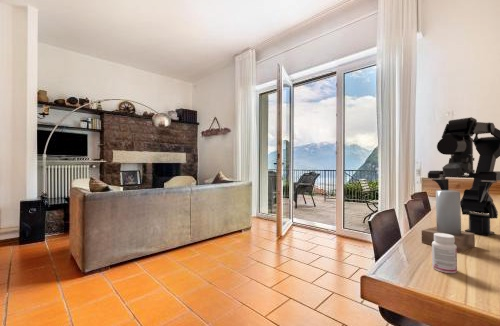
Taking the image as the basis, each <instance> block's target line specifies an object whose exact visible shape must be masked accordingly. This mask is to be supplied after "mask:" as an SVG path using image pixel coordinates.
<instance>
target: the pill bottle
mask: <svg viewBox="0 0 500 326" xmlns="http://www.w3.org/2000/svg"><path fill="white" fill-rule="evenodd" d="M434 240H435V241H433V242H432V245H431V264H432V265H431V266H432V268H433V269H435V270H436V271H439V272H441V273H446V274H456V273H457V272H458V254H457V253H458V252H457V246H456V245H455V244H454V243H455V238H454V236H453V235H450V234H445V233H434Z"/></svg>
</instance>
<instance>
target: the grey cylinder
mask: <svg viewBox="0 0 500 326" xmlns="http://www.w3.org/2000/svg"><path fill="white" fill-rule="evenodd" d="M460 202H461V191H459V190H451V189H449V190H441V189H436V190H435V214H436V216H435V217H436V219H435V220H436V227H437V232H439V233H445V234H450V235H461V231H462V210H461V204H460Z"/></svg>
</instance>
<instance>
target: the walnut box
mask: <svg viewBox="0 0 500 326" xmlns="http://www.w3.org/2000/svg"><path fill="white" fill-rule="evenodd" d="M434 233H439V232H437V226H433V227H429V228H426V229H421V243H422V244H425V245H429V246H432V242H433V241H435V240H434ZM475 234H476V233H470V232H465V230H464V231H463V230H461V235H453V236H454V238H455V243H454V244H455V245H456V246H457V253H462V252H464V251H466V250H468V249H472V248H475V247H476V246H475V243H476V241H475V236H476V235H475Z"/></svg>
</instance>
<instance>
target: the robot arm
mask: <svg viewBox="0 0 500 326" xmlns="http://www.w3.org/2000/svg"><path fill="white" fill-rule="evenodd" d="M485 134H490V135H491V136H483V137H482V136H481V137H479V136H478V135H485ZM473 136H474V138H472V137H473ZM474 147H475V150H476V151H477V153H478V154H479V157H478V161H477V165H476V169H474V161H475V157H474ZM436 149H437V151H438V152H439V153H440V154H442V155H450V157H449V159H448V163H446V164H445V165H444V166H442V170H429V171H428V172H427V178H428V179H431V180H432V181H433V182H435V183H436V184H437V185H438V187H439V188H440V190H450V189H449V178H456V179H457V178H458V179H459V178H460V179H473V181H472V184H471V185H472V186H471V187H470V188H469V189H468V188H465V189H464V190H463V195H462V197H461V198H460V204H461V215H463V216H464V215H466V216H468V228H467V229H465V230H464V232H470V233H475V234H477V235H481V236H482V235H483V236H490V235H494V234H495V231H491V219H492V220H493V219H498V216H499V214H498V213H499V212H498V209H497V207H496V204H495V203H494V200H493V198H492V195H490V188H491V186H492V185H493V184H497V183H498V182H499V181H500V171H497V170H496V171H494V169H495V165H496V161H497V159H499V157H500V129H498V128H496V126H495V124H494V122H490V121H489V122H484V121H483V122H482V121H481V122H480V121H477V119H476V118H474V117H472V116H471V117H465V118H464V117H463V118H457V119H450V120H449V121H448V123H446V125H445V127H444V130H443V132H442V136H441V138H440V140H438V142H437V144H436Z"/></svg>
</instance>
